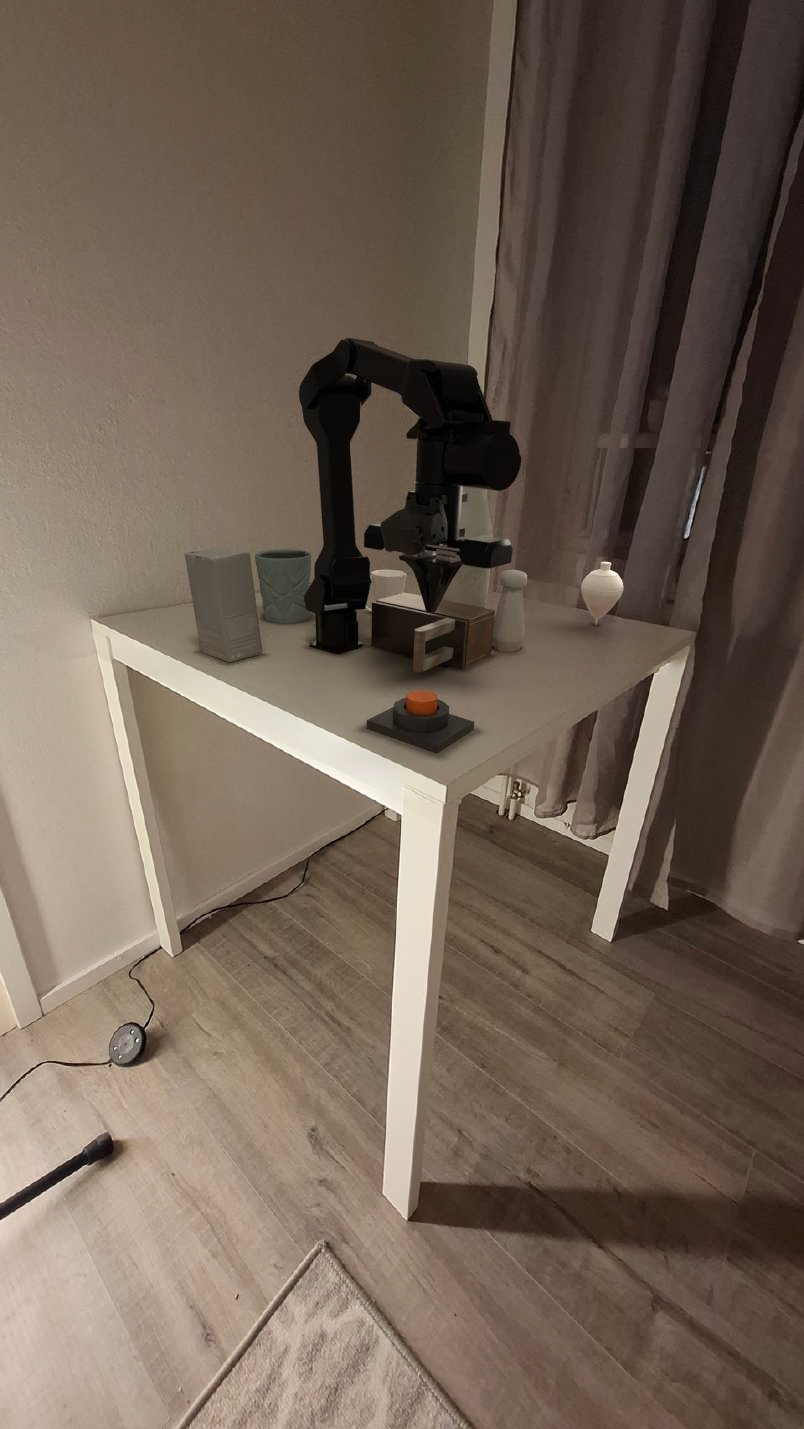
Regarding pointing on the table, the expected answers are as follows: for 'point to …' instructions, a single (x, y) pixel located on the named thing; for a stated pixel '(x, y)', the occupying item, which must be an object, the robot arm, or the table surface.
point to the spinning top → (601, 590)
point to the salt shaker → (510, 613)
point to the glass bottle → (469, 579)
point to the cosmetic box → (224, 603)
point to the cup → (387, 583)
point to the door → (419, 636)
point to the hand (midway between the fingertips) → (430, 612)
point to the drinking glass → (284, 584)
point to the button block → (421, 726)
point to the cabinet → (476, 617)
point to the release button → (421, 702)
